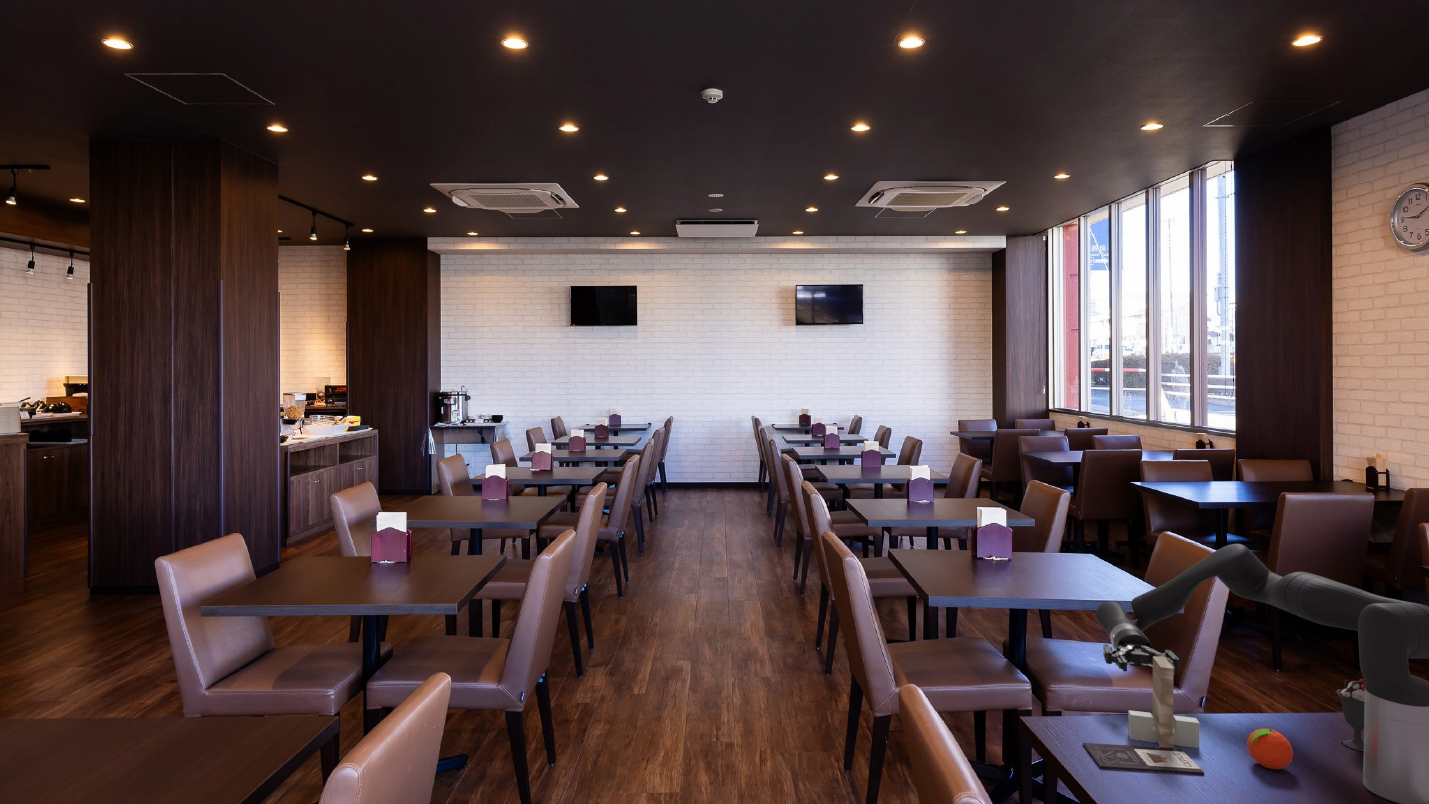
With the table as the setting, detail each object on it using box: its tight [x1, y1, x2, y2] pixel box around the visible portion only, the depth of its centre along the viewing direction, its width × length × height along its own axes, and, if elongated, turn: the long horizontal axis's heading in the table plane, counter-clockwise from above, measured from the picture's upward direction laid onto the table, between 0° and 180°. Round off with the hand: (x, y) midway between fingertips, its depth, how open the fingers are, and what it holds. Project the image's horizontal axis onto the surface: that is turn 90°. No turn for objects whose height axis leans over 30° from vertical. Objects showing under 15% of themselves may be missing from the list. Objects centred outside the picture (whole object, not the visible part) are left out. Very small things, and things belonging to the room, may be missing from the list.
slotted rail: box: [1127, 710, 1200, 749], centre depth 147 cm, size 12×2×5 cm, turn 72°
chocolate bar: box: [1082, 742, 1205, 776], centre depth 140 cm, size 9×1×18 cm
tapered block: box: [1151, 656, 1175, 748], centre depth 147 cm, size 2×7×16 cm, turn 162°
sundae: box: [1336, 677, 1365, 752], centre depth 145 cm, size 7×7×15 cm
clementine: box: [1246, 727, 1294, 770], centre depth 137 cm, size 8×7×7 cm
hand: (1147, 669), depth 157 cm, fingers open, 8 cm apart
